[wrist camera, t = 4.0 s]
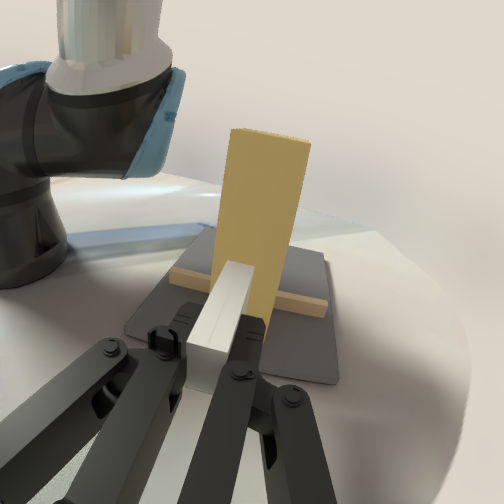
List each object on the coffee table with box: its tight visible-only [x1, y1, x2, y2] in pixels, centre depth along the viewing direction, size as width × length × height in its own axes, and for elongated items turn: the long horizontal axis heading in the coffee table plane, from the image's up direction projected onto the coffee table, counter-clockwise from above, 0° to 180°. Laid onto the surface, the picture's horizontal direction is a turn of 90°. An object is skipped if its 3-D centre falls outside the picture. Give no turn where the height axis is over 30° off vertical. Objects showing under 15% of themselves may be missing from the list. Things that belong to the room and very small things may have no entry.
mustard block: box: [209, 129, 311, 344], centre depth 23 cm, size 5×5×16 cm
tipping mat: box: [124, 228, 339, 385], centre depth 32 cm, size 24×18×2 cm
